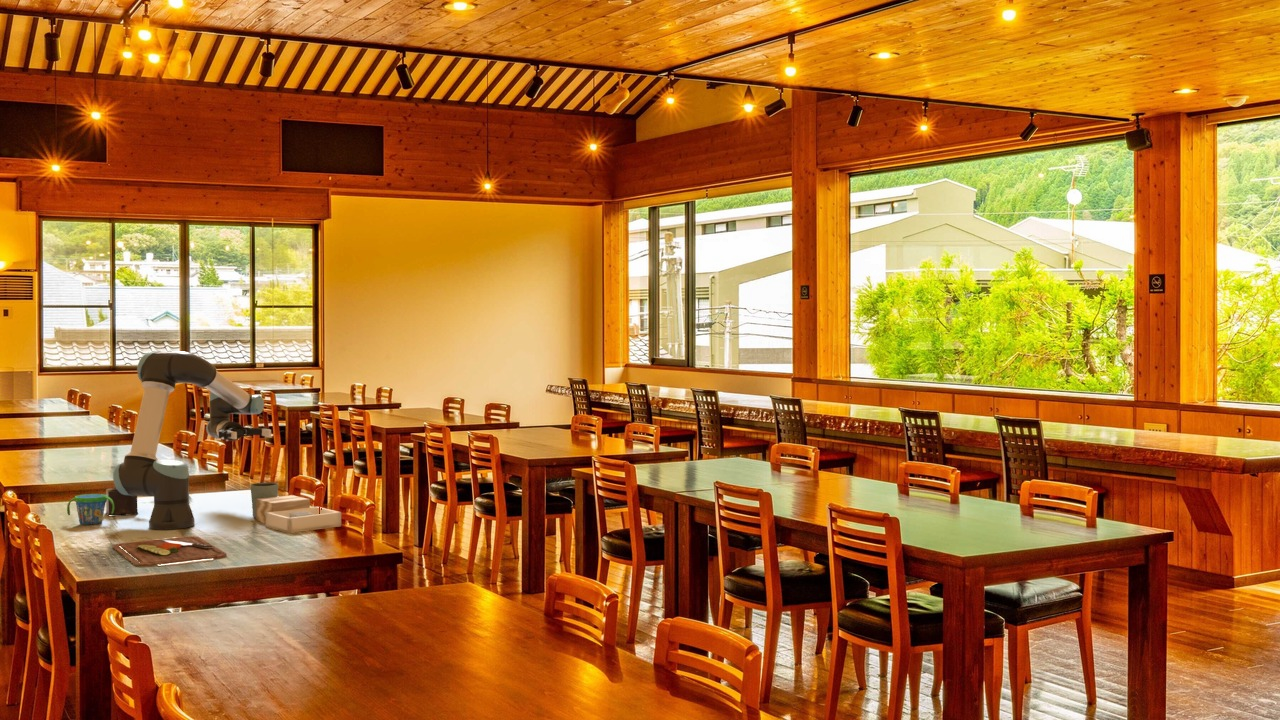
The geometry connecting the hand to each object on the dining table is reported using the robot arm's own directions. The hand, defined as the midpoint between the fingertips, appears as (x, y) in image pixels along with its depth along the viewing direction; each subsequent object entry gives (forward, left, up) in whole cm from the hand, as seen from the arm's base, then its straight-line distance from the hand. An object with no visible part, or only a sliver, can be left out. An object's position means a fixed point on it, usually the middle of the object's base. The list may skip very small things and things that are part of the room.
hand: (253, 434), depth 454 cm
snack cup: (-48, +31, -30) cm, 64 cm away
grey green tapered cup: (-2, -9, -30) cm, 32 cm away
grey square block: (-12, -39, -25) cm, 48 cm away
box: (-11, -39, -30) cm, 51 cm away
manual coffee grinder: (-26, +41, -30) cm, 57 cm away
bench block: (-6, -24, -30) cm, 39 cm away
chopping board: (-66, -40, -31) cm, 82 cm away
